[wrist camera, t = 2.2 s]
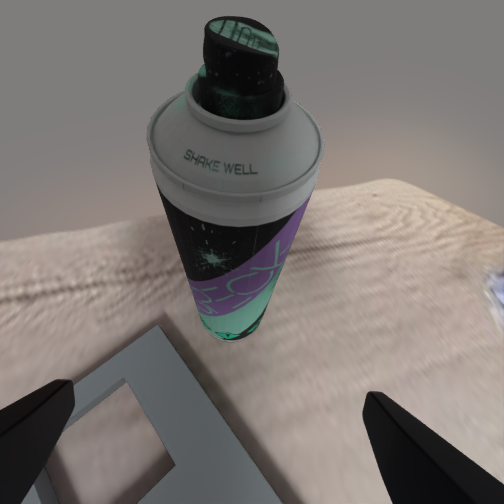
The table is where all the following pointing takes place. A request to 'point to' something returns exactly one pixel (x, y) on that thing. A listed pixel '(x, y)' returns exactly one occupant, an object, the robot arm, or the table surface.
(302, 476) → the table surface
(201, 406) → the hole board
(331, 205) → the table surface
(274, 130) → the spray can
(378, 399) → the robot arm
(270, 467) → the table surface
